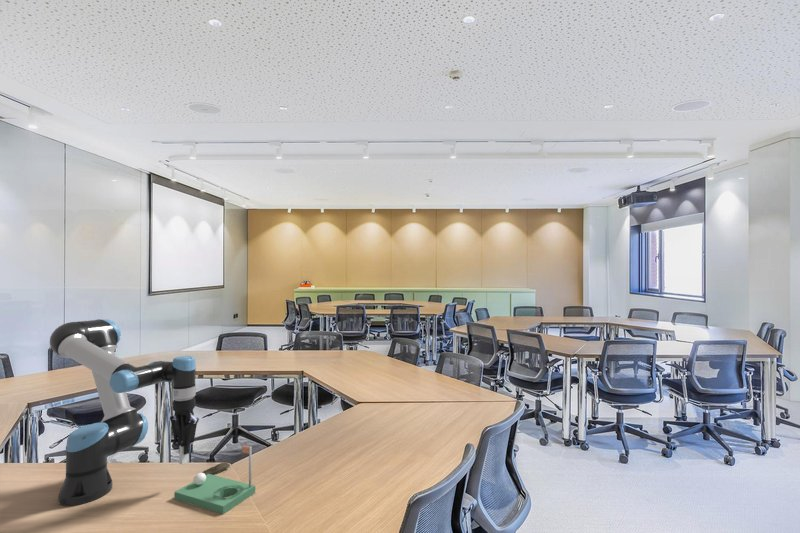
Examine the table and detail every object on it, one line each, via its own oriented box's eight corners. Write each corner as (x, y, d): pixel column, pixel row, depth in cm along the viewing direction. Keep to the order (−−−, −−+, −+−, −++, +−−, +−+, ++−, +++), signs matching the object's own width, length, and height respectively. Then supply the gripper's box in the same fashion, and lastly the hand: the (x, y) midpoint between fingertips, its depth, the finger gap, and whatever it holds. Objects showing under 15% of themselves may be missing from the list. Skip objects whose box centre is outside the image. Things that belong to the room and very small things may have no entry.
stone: (225, 465, 160) (225, 460, 160) (232, 468, 157) (232, 463, 158) (193, 479, 150) (193, 473, 150) (200, 482, 147) (200, 476, 147)
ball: (191, 486, 139) (191, 474, 139) (200, 480, 142) (201, 469, 143) (199, 488, 137) (199, 476, 137) (208, 482, 141) (208, 471, 141)
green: (174, 499, 135) (175, 451, 136) (208, 480, 148) (209, 436, 148) (223, 514, 125) (223, 462, 126) (255, 492, 138) (255, 446, 139)
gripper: (163, 399, 144) (162, 464, 143) (187, 402, 139) (187, 469, 137) (181, 394, 151) (181, 455, 150) (205, 397, 146) (205, 460, 144)
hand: (184, 462), depth 143 cm, fingers closed
